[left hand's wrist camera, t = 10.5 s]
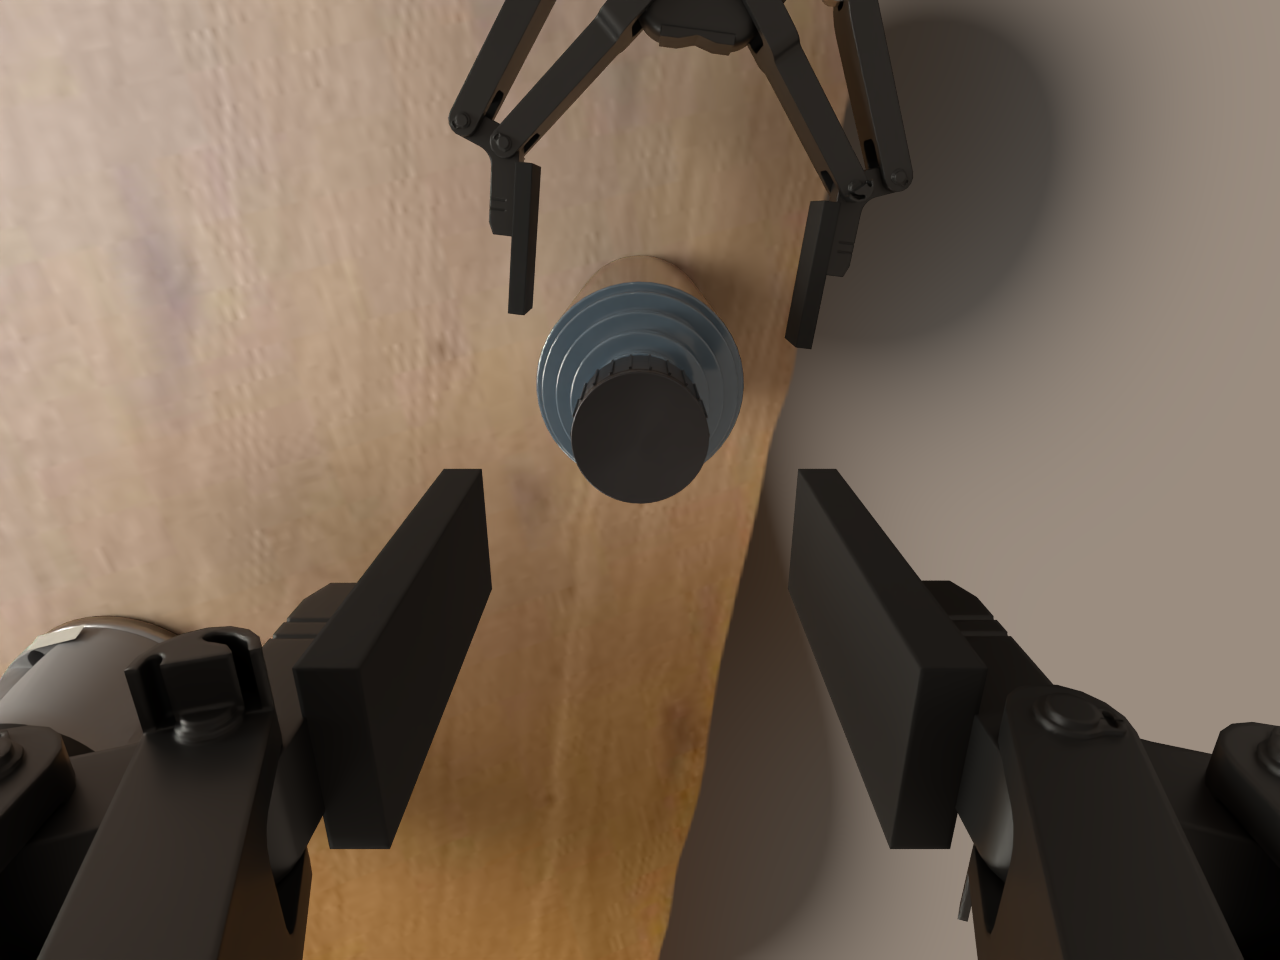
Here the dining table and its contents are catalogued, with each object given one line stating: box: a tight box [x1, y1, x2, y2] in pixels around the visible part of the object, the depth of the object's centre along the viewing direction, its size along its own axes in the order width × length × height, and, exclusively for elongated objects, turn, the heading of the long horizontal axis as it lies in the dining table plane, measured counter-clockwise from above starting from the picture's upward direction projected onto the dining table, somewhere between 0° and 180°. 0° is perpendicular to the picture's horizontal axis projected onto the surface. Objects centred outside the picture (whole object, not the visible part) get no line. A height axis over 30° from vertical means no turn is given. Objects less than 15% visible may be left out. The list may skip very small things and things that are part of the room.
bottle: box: [537, 255, 744, 463], centre depth 31 cm, size 8×8×22 cm
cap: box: [570, 354, 710, 504], centre depth 21 cm, size 4×4×2 cm
